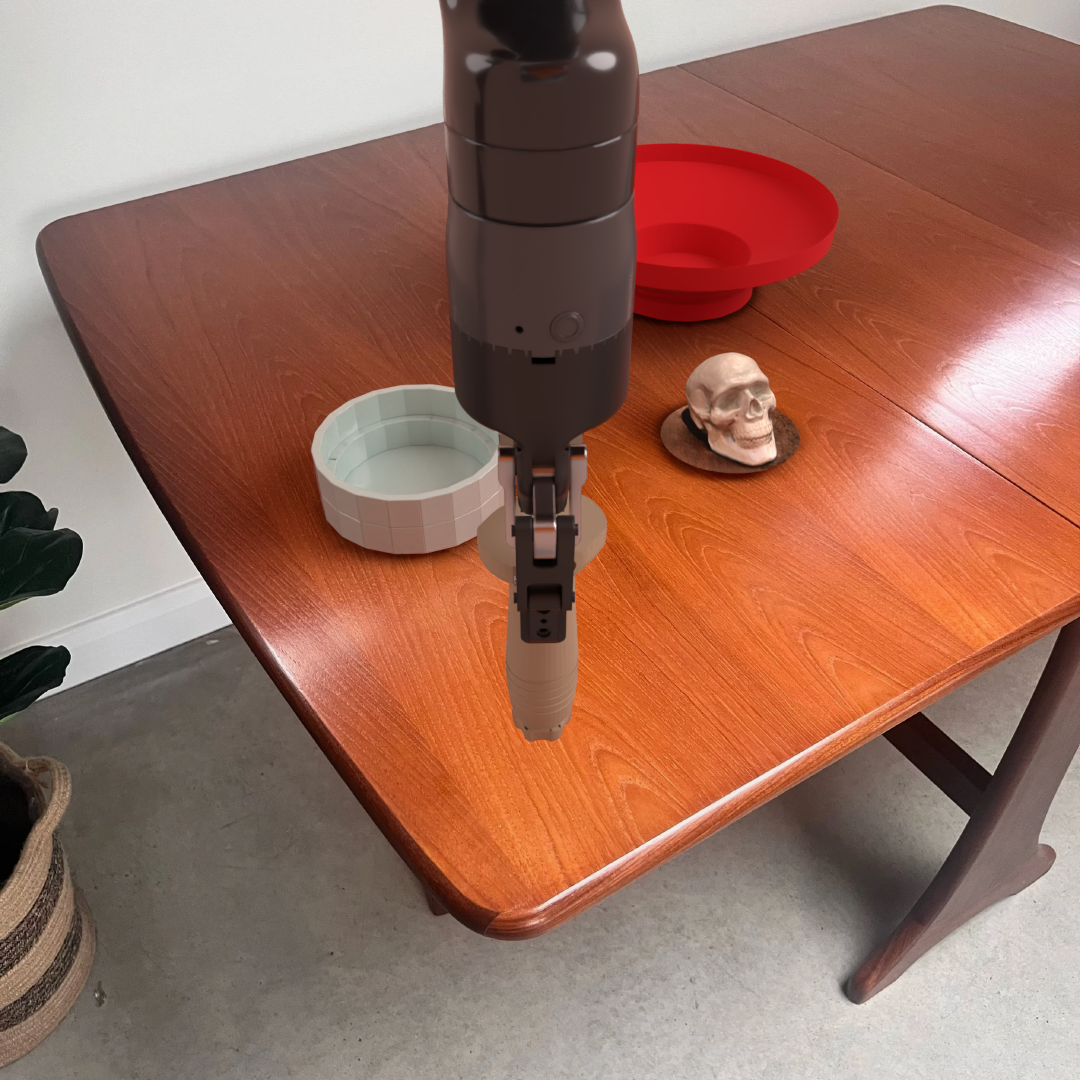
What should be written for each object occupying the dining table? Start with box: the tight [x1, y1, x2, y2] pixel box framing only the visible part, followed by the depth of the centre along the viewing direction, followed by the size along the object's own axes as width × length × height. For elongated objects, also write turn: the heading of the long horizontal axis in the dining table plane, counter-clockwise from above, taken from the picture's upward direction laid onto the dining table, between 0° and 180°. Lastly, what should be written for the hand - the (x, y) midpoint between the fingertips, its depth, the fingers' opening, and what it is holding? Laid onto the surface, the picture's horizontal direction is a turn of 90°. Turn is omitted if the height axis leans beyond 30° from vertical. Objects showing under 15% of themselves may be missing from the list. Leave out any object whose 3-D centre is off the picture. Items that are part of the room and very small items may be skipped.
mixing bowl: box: [310, 383, 504, 555], centre depth 84 cm, size 15×15×6 cm
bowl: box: [633, 142, 840, 323], centre depth 109 cm, size 30×30×10 cm
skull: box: [660, 351, 801, 474], centre depth 90 cm, size 12×10×10 cm
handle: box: [476, 491, 608, 743], centre depth 55 cm, size 5×6×15 cm
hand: (541, 593), depth 53 cm, fingers closed on handle, 5 cm apart
